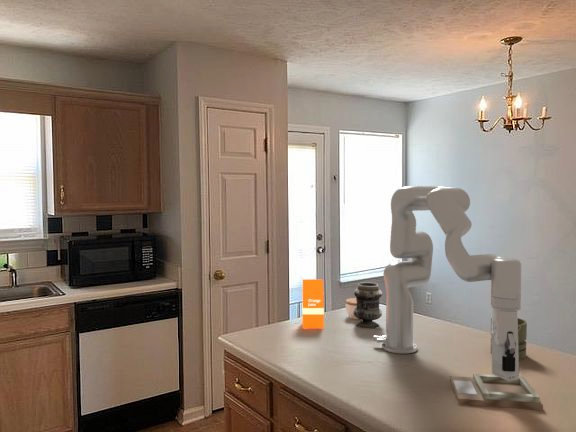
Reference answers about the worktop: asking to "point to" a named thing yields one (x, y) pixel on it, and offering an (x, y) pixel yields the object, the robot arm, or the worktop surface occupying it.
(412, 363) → the worktop surface
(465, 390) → the framed base plate
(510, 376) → the skincare box
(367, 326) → the dark stone vase
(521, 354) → the piston
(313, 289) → the orange juice
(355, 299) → the lidded jar
